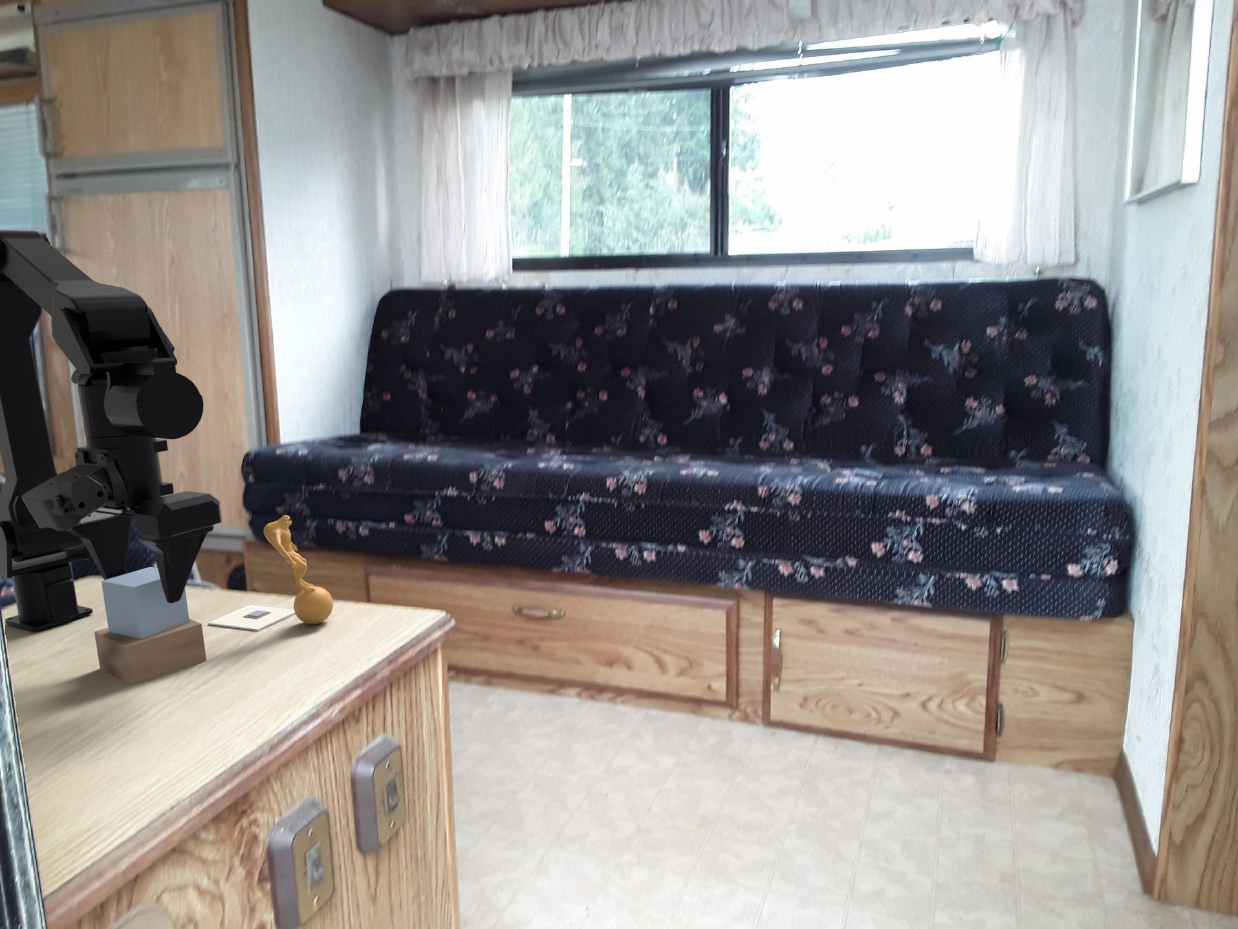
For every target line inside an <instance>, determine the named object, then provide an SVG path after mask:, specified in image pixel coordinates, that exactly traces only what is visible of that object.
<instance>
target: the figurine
mask: <svg viewBox="0 0 1238 929" xmlns="http://www.w3.org/2000/svg"><path fill="white" fill-rule="evenodd" d="M292 522H293V521H292V520H291V517H290V516H289V515H286V514H285V515H283V516H281V518H279V519H277V520H275V521H273V522H269V523H267V524H265V526H264V528H263V534H264V537H265V539H266V540H267V541H268V542H269V544H271V546H273V548H275V549H276V551H277V553H278V555H281V556H282V557H283V558H284V561H286V562H287V564H288V565H289V566H291V567H292V570H293V571H294V580H295V583H296V584H297V586H299V588H301V590H300V592H298V594H297V595H296V596H295V598H294V601H293V610H294V612H295V614H294V615H295V617H297V619H299V621H301V622H303V623H304V624H307V625H317V624H320V623H323V622H324V621H326V620H327V619H328V618H329V617H330V615H331V613H332V612H333V609H334V600H333V597H332V595H331V594H330V592H329V591H328V590H327V589H325V588H324V587H321V586H316V585H314V584H313V583H308V582H306V581H305V580H303V579H302V578H303V577H304V575H305V574H306V573H307V571H308V565H307V564H308V563H307V559H305V558H304V557H302V555H300V554H299V553H297V551H299V549H298V548H297V547H298V546H297V545H295V544H294V543H293V542H292V540H291V538H292V534H291V530H290V528H289V527H290V526H291V525H292V524H293V523H292Z"/></svg>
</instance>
